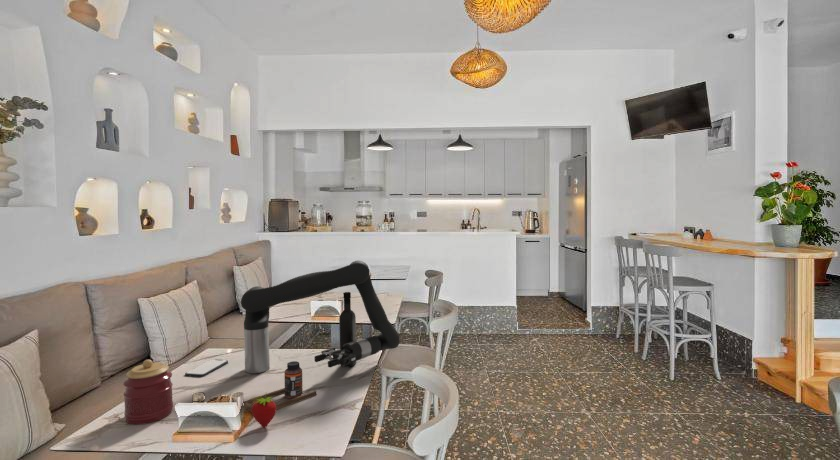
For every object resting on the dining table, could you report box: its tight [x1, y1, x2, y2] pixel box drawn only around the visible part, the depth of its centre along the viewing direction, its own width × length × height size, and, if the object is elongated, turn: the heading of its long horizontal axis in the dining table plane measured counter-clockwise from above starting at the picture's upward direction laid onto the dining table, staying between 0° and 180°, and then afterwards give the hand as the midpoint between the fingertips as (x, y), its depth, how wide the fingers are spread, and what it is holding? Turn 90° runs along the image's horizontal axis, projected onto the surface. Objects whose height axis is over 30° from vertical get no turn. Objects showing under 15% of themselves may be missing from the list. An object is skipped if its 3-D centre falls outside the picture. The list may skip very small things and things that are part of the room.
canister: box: [122, 359, 174, 425], centre depth 133 cm, size 13×13×18 cm
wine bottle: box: [338, 291, 357, 368], centre depth 175 cm, size 6×6×30 cm
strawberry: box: [250, 394, 278, 428], centre depth 125 cm, size 6×8×10 cm
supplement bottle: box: [283, 360, 304, 399], centre depth 146 cm, size 6×6×11 cm
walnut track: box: [242, 387, 317, 412], centre depth 143 cm, size 11×21×1 cm, turn 137°
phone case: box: [184, 358, 229, 378], centre depth 173 cm, size 9×2×16 cm
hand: (321, 361), depth 154 cm, fingers open, 8 cm apart
